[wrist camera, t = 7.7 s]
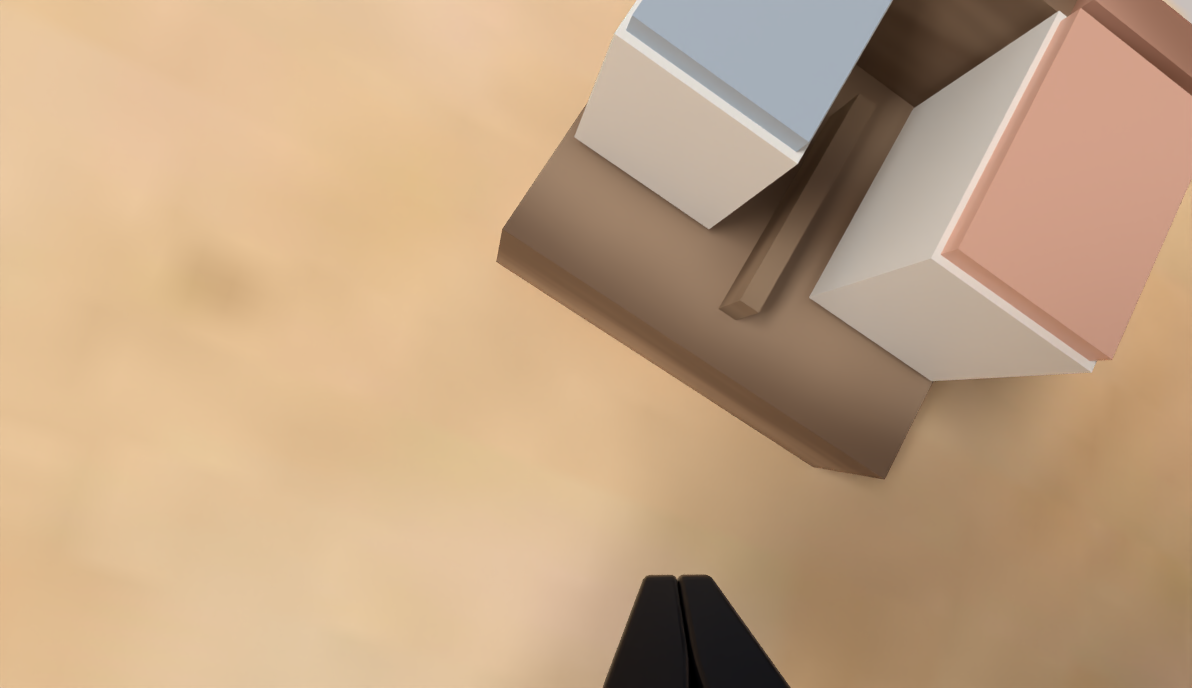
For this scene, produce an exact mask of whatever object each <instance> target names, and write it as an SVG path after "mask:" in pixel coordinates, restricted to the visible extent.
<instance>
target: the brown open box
mask: <svg viewBox="0 0 1192 688" xmlns="http://www.w3.org/2000/svg"><path fill="white" fill-rule="evenodd" d="M1080 8H1082V9H1083V10H1084V11H1085V12H1087V13H1088V14H1089V15H1090V16H1092V17H1093V18H1094V19H1096V20H1097V21H1098V22H1099V23H1101V24H1102V25H1103V26H1104V27H1106V28H1107V29H1108V30H1109V31H1111V32H1112V33H1113V34H1114V35H1116V36H1117V37H1118V38H1119V39H1121V40H1122V41H1123V42H1125V43H1126V44H1127V45H1128V46H1130V47H1131V48H1132V49H1133V50H1135V51H1136V52H1137V53H1138V54H1140V55H1141V56H1142V57H1143V58H1145V59H1146V60H1147V61H1148V62H1150V63H1151V64H1152V65H1154V66H1155V67H1156V68H1157V69H1159V70H1160V71H1161V72H1162V73H1164V74H1165V75H1166V76H1167V77H1169V78H1170V79H1171V80H1172V81H1174V82H1175V83H1176V84H1177V85H1179V86H1180V87H1181V88H1183V89H1184V90H1185V91H1186V92H1188V93H1189V94H1190V95H1191V96H1192V24H1191V23H1190V22H1188V21H1187V20H1186V19H1185V18H1183V17H1182V16H1181V15H1180V14H1179V13H1177V12H1176V11H1175V10H1174V9H1172V8H1171V7H1170V6H1169V5H1167V4H1166V3H1165V2H1164V1H1162V0H893V1H892V3H891V5H890V6H889V8H888V10H887V12H886V13H885V15H884V17H883V18H882V20H881V22H880V24H879V25H878V27H877V29H876V30H875V32H874V34H873V36H872V37H871V39H870V41H869V42H868V44H867V46H866V48H865V49H864V51H863V53H862V54H861V56H860V58H859V60H858V61H857V63H856V65H855V66H854V68H853V70H852V72H851V73H850V75H849V77H848V78H847V80H846V82H845V84H844V85H843V87H842V89H841V90H840V92H839V94H838V96H837V97H836V99H835V101H834V102H833V104H832V106H831V108H830V109H829V111H828V113H827V114H826V116H825V118H824V120H823V121H822V123H821V125H820V127H819V128H818V130H817V132H816V133H815V135H814V137H813V139H812V140H811V142H810V144H809V145H808V147H807V149H806V151H805V152H804V154H803V156H802V157H801V159H800V161H799V163H798V164H797V165H796V166H794V167H793V168H791V169H790V170H789V171H787V172H786V173H785V174H783V175H782V176H781V177H779V178H778V179H777V180H775V181H774V182H773V183H771V184H770V185H768V186H767V187H766V188H764V189H763V190H762V191H760V192H759V193H758V194H756V195H755V196H754V197H752V198H751V199H750V200H748V201H747V202H745V203H744V204H743V205H741V206H740V207H739V208H737V209H736V210H735V211H733V212H732V213H731V214H729V215H728V216H727V217H725V218H724V219H722V220H721V221H720V222H718V223H717V224H716V225H714V226H713V227H712V228H710V229H708V228H706V227H705V226H703V225H702V224H700V223H699V222H697V221H696V220H695V219H693V218H692V217H690V216H689V215H687V214H686V213H684V212H683V211H681V210H680V209H678V208H677V207H676V206H674V205H673V204H671V203H670V202H668V201H667V200H665V199H664V198H662V197H661V196H659V195H658V194H657V193H655V192H654V191H652V190H651V189H649V188H648V187H646V186H645V185H643V184H642V183H640V182H639V181H638V180H636V179H635V178H633V177H632V176H630V175H629V174H627V173H626V172H624V171H623V170H621V169H620V168H619V167H617V166H616V165H614V164H613V163H611V162H610V161H608V160H607V159H605V158H604V157H602V156H601V155H599V154H598V153H597V152H595V151H594V150H592V149H591V148H589V147H588V146H586V145H585V144H583V143H582V142H580V141H579V140H578V139H576V138H575V137H574V136H575V134H576V131H577V128H578V126H579V123H580V121H581V118H582V116H583V113H584V110H585V108H586V106H585V107H584V108H583V110H582V111H581V113H580V114H579V116H578V117H577V119H576V120H575V122H574V123H573V125H572V126H571V128H570V129H569V131H568V132H567V134H566V135H565V137H564V138H563V140H562V141H561V143H560V144H559V146H558V147H557V149H556V150H555V152H554V153H553V155H552V156H551V158H550V159H549V161H548V162H547V164H546V165H545V166H544V168H543V169H542V171H541V172H540V174H539V175H538V177H537V178H536V180H535V181H534V183H533V184H532V186H531V187H530V189H529V190H528V192H527V193H526V195H525V196H524V198H523V199H522V201H521V202H520V204H519V205H518V207H517V208H516V210H515V211H514V213H513V214H512V216H511V217H510V219H509V220H508V221H507V223H506V224H505V226H504V227H503V229H502V234H501V240H500V245H499V251H498V256H497V261H496V262H498V263H499V264H501V265H502V266H504V267H505V268H507V269H508V270H510V271H512V272H513V273H515V274H516V275H518V276H519V277H521V278H522V279H524V280H525V281H527V282H529V283H530V284H532V285H533V286H535V287H536V288H538V289H539V290H541V291H542V292H544V293H546V294H547V295H549V296H550V297H552V298H553V299H555V300H556V301H558V302H559V303H561V304H563V305H564V306H566V307H567V308H569V309H570V310H572V311H573V312H575V313H576V314H578V315H580V316H581V317H583V318H584V319H586V320H587V321H589V322H590V323H592V324H593V325H595V326H596V327H598V328H600V329H601V330H603V331H604V332H606V333H607V334H609V335H610V336H612V337H613V338H615V339H617V340H618V341H620V342H621V343H623V344H624V345H626V346H627V347H629V348H630V349H632V350H634V351H635V352H637V353H638V354H640V355H641V356H643V357H644V358H646V359H647V360H649V361H651V362H652V363H654V364H655V365H657V366H658V367H660V368H661V369H663V370H664V371H666V372H667V373H669V374H671V375H672V376H674V377H675V378H677V379H678V380H680V381H681V382H683V383H684V384H686V385H688V386H689V387H691V388H692V389H694V390H695V391H697V392H698V393H700V394H701V395H703V396H705V397H706V398H708V399H709V400H711V401H712V402H714V403H715V404H717V405H718V406H720V407H722V408H723V409H725V410H726V411H728V412H729V413H731V414H732V415H734V416H735V417H737V418H739V419H740V420H742V421H743V422H745V423H746V424H748V425H749V426H751V427H752V428H754V429H755V430H757V431H759V432H760V433H762V434H763V435H765V436H766V437H768V438H769V439H771V440H772V441H774V442H776V443H777V444H779V445H780V446H782V447H783V448H785V449H786V450H788V451H789V452H791V453H793V454H794V455H796V456H797V457H799V458H800V459H802V460H803V461H805V462H806V463H808V464H810V465H811V466H813V467H818V468H823V469H829V470H835V471H840V472H846V473H852V474H857V475H863V476H869V477H874V478H880V479H885V477H886V475H887V473H888V471H889V469H890V467H891V465H892V463H893V461H894V459H895V457H896V455H897V453H898V451H899V449H900V447H901V445H902V443H903V441H904V439H905V437H906V435H907V433H908V431H909V429H910V427H911V425H912V423H913V421H914V419H915V417H916V415H917V413H918V411H919V409H920V407H921V405H922V403H923V401H924V399H925V397H926V395H927V393H928V391H929V389H930V387H931V385H932V383H933V381H930V380H929V379H927V378H926V377H924V376H923V375H921V374H920V373H919V372H917V371H916V370H914V369H913V368H911V367H910V366H908V365H907V364H905V363H904V362H902V361H901V360H900V359H898V358H897V357H895V356H894V355H892V354H891V353H889V352H888V351H886V350H885V349H883V348H882V347H881V346H879V345H878V344H876V343H875V342H873V341H872V340H870V339H869V338H867V337H866V336H864V335H863V334H862V333H860V332H859V331H857V330H856V329H854V328H853V327H851V326H850V325H848V324H847V323H845V322H844V321H843V320H841V319H840V318H838V317H837V316H835V315H834V314H832V313H831V312H829V311H828V310H826V309H825V308H823V307H822V306H821V305H819V304H818V303H816V302H815V301H813V300H812V299H810V298H809V296H810V295H811V293H812V291H813V289H814V287H815V286H816V284H817V282H818V280H819V278H820V277H821V275H822V273H823V271H824V269H825V267H826V266H827V264H828V262H829V260H830V258H831V257H832V255H833V253H834V251H835V249H836V248H837V246H838V244H839V242H840V240H841V239H842V237H843V235H844V233H845V231H846V229H847V228H848V226H849V224H850V222H851V220H852V219H853V217H854V215H855V213H856V211H857V210H858V208H859V206H860V204H861V202H862V200H863V199H864V197H865V195H866V193H867V191H868V190H869V188H870V186H871V184H872V182H873V181H874V179H875V177H876V175H877V173H878V172H879V170H880V168H881V166H882V164H883V162H884V161H885V159H886V157H887V155H888V153H889V152H890V150H891V148H892V146H893V144H894V143H895V141H896V139H897V137H898V135H899V133H900V132H901V130H902V128H903V126H904V124H905V123H906V121H907V119H908V117H909V115H910V114H911V112H912V110H913V108H915V107H916V106H918V105H919V104H921V103H922V102H924V101H925V100H927V99H928V98H930V97H931V96H933V95H934V94H936V93H937V92H939V91H940V90H942V89H943V88H945V87H946V86H948V85H949V84H951V83H952V82H954V81H955V80H957V79H958V78H960V77H961V76H963V75H964V74H966V73H967V72H969V71H970V70H972V69H973V68H975V67H976V66H978V65H979V64H981V63H982V62H984V61H985V60H986V59H988V58H989V57H991V56H992V55H994V54H995V53H997V52H998V51H1000V50H1001V49H1003V48H1004V47H1006V46H1007V45H1009V44H1010V43H1012V42H1013V41H1015V40H1016V39H1018V38H1019V37H1021V36H1022V35H1024V34H1025V33H1027V32H1028V31H1030V30H1031V29H1033V28H1034V27H1036V26H1037V25H1039V24H1040V23H1042V22H1043V21H1045V20H1046V19H1048V18H1049V17H1051V16H1052V15H1054V14H1055V13H1057V12H1058V11H1060V12H1062V13H1063V14H1064V15H1065V16H1067V17H1068V16H1069V15H1071V14H1072V13H1074V12H1075V11H1077V10H1079V9H1080ZM586 105H587V104H586Z"/></svg>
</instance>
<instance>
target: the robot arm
mask: <svg viewBox="0 0 1192 688" xmlns="http://www.w3.org/2000/svg"><path fill="white" fill-rule="evenodd" d="M603 688H790V686H789V685H788V683H787V682H786V681H785V679H784V678H783V676H782V675H781V674H780V672H779V671H778V669H777V668H776V667H775V665H774V664H773V662H772V661H771V660H770V658H769V657H768V655H767V654H766V653H765V651H764V650H763V648H762V647H761V646H760V644H759V643H758V641H757V640H756V639H755V637H754V636H753V634H752V633H751V632H750V630H749V629H748V627H747V626H746V625H745V623H744V622H743V621H742V619H741V618H740V616H739V615H738V614H737V612H736V611H735V609H734V608H733V607H732V605H731V604H730V602H729V601H728V600H727V598H726V597H725V595H724V594H723V593H722V591H721V590H720V588H719V587H718V586H717V584H716V583H715V581H714V580H713V579H712V578H711V577H710V576H708V575H681V576H680V577H679V578H678V579H676V577H675V576H673V575H649V576H646V577H645V578H644V579H643V581H642V584H641V586H640V589H639V592H638V594H637V597H636V600H635V602H634V605H633V608H632V610H631V613H630V616H629V618H628V621H627V624H626V627H625V629H624V632H623V635H622V637H621V640H620V643H619V645H618V648H617V651H616V653H615V656H614V659H613V661H612V664H611V667H610V669H609V672H608V675H607V677H606V680H605V683H604V685H603Z"/></svg>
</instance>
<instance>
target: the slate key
mask: <svg viewBox="0 0 1192 688" xmlns="http://www.w3.org/2000/svg"><path fill="white" fill-rule="evenodd" d="M892 1H893V0H637V1H636V2H635V4H634V5H633V7H632V8H631V10H630V11H629V13H628V14H627V15H626V17H625V18H624V20H623V21H622V23H621V24H620V26H619V27H618V29H617V30H616V32H615V33H614V35H613V38H612V41H611V43H610V46H609V48H608V51H607V54H606V56H605V59H604V61H603V64H602V66H601V69H600V72H599V74H598V77H597V79H596V82H595V85H594V87H593V90H592V92H591V95H590V97H589V100H588V103H587V105H586V108H585V110H584V113H583V116H582V118H581V121H580V123H579V126H578V128H577V131H576V134H575V136H574V137H575V138H576V139H578V140H579V141H580V142H582V143H583V144H585V145H586V146H588V147H589V148H591V149H592V150H594V151H595V152H597V153H598V154H599V155H601V156H602V157H604V158H605V159H607V160H608V161H610V162H611V163H613V164H614V165H616V166H617V167H619V168H620V169H621V170H623V171H624V172H626V173H627V174H629V175H630V176H632V177H633V178H635V179H636V180H638V181H639V182H640V183H642V184H643V185H645V186H646V187H648V188H649V189H651V190H652V191H654V192H655V193H657V194H658V195H659V196H661V197H662V198H664V199H665V200H667V201H668V202H670V203H671V204H673V205H674V206H676V207H677V208H678V209H680V210H681V211H683V212H684V213H686V214H687V215H689V216H690V217H692V218H693V219H695V220H696V221H697V222H699V223H700V224H702V225H703V226H705V227H706V228H708V229H710V228H712V227H713V226H714V225H716V224H717V223H718V222H720V221H721V220H722V219H724V218H725V217H727V216H728V215H729V214H731V213H732V212H733V211H735V210H736V209H737V208H739V207H740V206H741V205H743V204H744V203H745V202H747V201H748V200H750V199H751V198H752V197H754V196H755V195H756V194H758V193H759V192H760V191H762V190H763V189H764V188H766V187H767V186H768V185H770V184H771V183H773V182H774V181H775V180H777V179H778V178H779V177H781V176H782V175H783V174H785V173H786V172H787V171H789V170H790V169H791V168H793V167H794V166H796V165H797V164H798V163H799V161H800V159H801V157H802V156H803V154H804V152H805V151H806V149H807V147H808V145H809V144H810V142H811V140H812V139H813V137H814V135H815V133H816V132H817V130H818V128H819V127H820V125H821V123H822V121H823V120H824V118H825V116H826V114H827V113H828V111H829V109H830V108H831V106H832V104H833V102H834V101H835V99H836V97H837V96H838V94H839V92H840V90H841V89H842V87H843V85H844V84H845V82H846V80H847V78H848V77H849V75H850V73H851V72H852V70H853V68H854V66H855V65H856V63H857V61H858V60H859V58H860V56H861V54H862V53H863V51H864V49H865V48H866V46H867V44H868V42H869V41H870V39H871V37H872V36H873V34H874V32H875V30H876V29H877V27H878V25H879V24H880V22H881V20H882V18H883V17H884V15H885V13H886V12H887V10H888V8H889V6H890V5H891V3H892Z"/></svg>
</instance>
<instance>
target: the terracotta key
mask: <svg viewBox="0 0 1192 688" xmlns="http://www.w3.org/2000/svg"><path fill="white" fill-rule="evenodd" d="M1191 179H1192V96H1191V95H1190V94H1189V93H1188V92H1186V91H1185V90H1184V89H1183V88H1181V87H1180V86H1179V85H1177V84H1176V83H1175V82H1174V81H1172V80H1171V79H1170V78H1169V77H1167V76H1166V75H1165V74H1164V73H1162V72H1161V71H1160V70H1159V69H1157V68H1156V67H1155V66H1154V65H1152V64H1151V63H1150V62H1148V61H1147V60H1146V59H1145V58H1143V57H1142V56H1141V55H1140V54H1138V53H1137V52H1136V51H1135V50H1133V49H1132V48H1131V47H1130V46H1128V45H1127V44H1126V43H1125V42H1123V41H1122V40H1121V39H1119V38H1118V37H1117V36H1116V35H1114V34H1113V33H1112V32H1111V31H1109V30H1108V29H1107V28H1106V27H1104V26H1103V25H1102V24H1101V23H1099V22H1098V21H1097V20H1096V19H1094V18H1093V17H1092V16H1090V15H1089V14H1088V13H1087V12H1085V11H1084V10H1083V9H1082V8H1080V9H1079V10H1077V11H1075V12H1074V13H1072V14H1071V15H1069V16H1068V17H1067V16H1065V15H1064V14H1063V13H1062V12H1060V11H1058V12H1057V13H1055V14H1054V15H1052V16H1051V17H1049V18H1048V19H1046V20H1045V21H1043V22H1042V23H1040V24H1039V25H1037V26H1036V27H1034V28H1033V29H1031V30H1030V31H1028V32H1027V33H1025V34H1024V35H1022V36H1021V37H1019V38H1018V39H1016V40H1015V41H1013V42H1012V43H1010V44H1009V45H1007V46H1006V47H1004V48H1003V49H1001V50H1000V51H998V52H997V53H995V54H994V55H992V56H991V57H989V58H988V59H986V60H985V61H984V62H982V63H981V64H979V65H978V66H976V67H975V68H973V69H972V70H970V71H969V72H967V73H966V74H964V75H963V76H961V77H960V78H958V79H957V80H955V81H954V82H952V83H951V84H949V85H948V86H946V87H945V88H943V89H942V90H940V91H939V92H937V93H936V94H934V95H933V96H931V97H930V98H928V99H927V100H925V101H924V102H922V103H921V104H919V105H918V106H916V107H915V108H913V110H912V112H911V114H910V115H909V117H908V119H907V121H906V123H905V124H904V126H903V128H902V130H901V132H900V133H899V135H898V137H897V139H896V141H895V143H894V144H893V146H892V148H891V150H890V152H889V153H888V155H887V157H886V159H885V161H884V162H883V164H882V166H881V168H880V170H879V172H878V173H877V175H876V177H875V179H874V181H873V182H872V184H871V186H870V188H869V190H868V191H867V193H866V195H865V197H864V199H863V200H862V202H861V204H860V206H859V208H858V210H857V211H856V213H855V215H854V217H853V219H852V220H851V222H850V224H849V226H848V228H847V229H846V231H845V233H844V235H843V237H842V239H841V240H840V242H839V244H838V246H837V248H836V249H835V251H834V253H833V255H832V257H831V258H830V260H829V262H828V264H827V266H826V267H825V269H824V271H823V273H822V275H821V277H820V278H819V280H818V282H817V284H816V286H815V287H814V289H813V291H812V293H811V295H810V296H809V298H810V299H812V300H813V301H815V302H816V303H818V304H819V305H821V306H822V307H823V308H825V309H826V310H828V311H829V312H831V313H832V314H834V315H835V316H837V317H838V318H840V319H841V320H843V321H844V322H845V323H847V324H848V325H850V326H851V327H853V328H854V329H856V330H857V331H859V332H860V333H862V334H863V335H864V336H866V337H867V338H869V339H870V340H872V341H873V342H875V343H876V344H878V345H879V346H881V347H882V348H883V349H885V350H886V351H888V352H889V353H891V354H892V355H894V356H895V357H897V358H898V359H900V360H901V361H902V362H904V363H905V364H907V365H908V366H910V367H911V368H913V369H914V370H916V371H917V372H919V373H920V374H921V375H923V376H924V377H926V378H927V379H929V380H930V381H944V380H963V379H981V378H1000V377H1018V376H1037V375H1055V374H1074V373H1092V370H1093V368H1094V366H1095V364H1096V361H1098V360H1112V359H1113V356H1114V354H1115V352H1116V349H1117V347H1118V345H1119V343H1120V340H1121V338H1122V336H1123V334H1124V331H1125V329H1126V327H1127V324H1128V322H1129V320H1130V318H1131V315H1132V313H1133V311H1134V309H1135V306H1136V304H1137V302H1138V299H1139V297H1140V295H1141V293H1142V290H1143V288H1144V286H1145V283H1146V281H1147V279H1148V277H1149V274H1150V272H1151V270H1152V268H1153V265H1154V263H1155V261H1156V258H1157V256H1158V254H1159V252H1160V249H1161V247H1162V245H1163V243H1164V240H1165V238H1166V236H1167V233H1168V231H1169V229H1170V227H1171V224H1172V222H1173V220H1174V218H1175V215H1176V213H1177V211H1178V208H1179V206H1180V204H1181V202H1182V199H1183V197H1184V195H1185V193H1186V190H1187V188H1188V186H1189V183H1190V181H1191Z"/></svg>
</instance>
